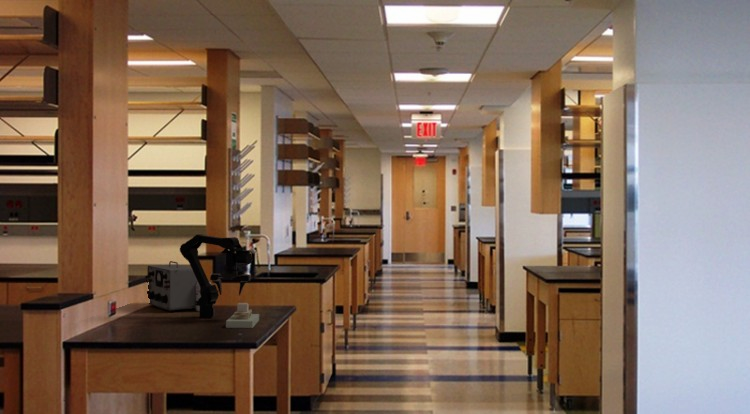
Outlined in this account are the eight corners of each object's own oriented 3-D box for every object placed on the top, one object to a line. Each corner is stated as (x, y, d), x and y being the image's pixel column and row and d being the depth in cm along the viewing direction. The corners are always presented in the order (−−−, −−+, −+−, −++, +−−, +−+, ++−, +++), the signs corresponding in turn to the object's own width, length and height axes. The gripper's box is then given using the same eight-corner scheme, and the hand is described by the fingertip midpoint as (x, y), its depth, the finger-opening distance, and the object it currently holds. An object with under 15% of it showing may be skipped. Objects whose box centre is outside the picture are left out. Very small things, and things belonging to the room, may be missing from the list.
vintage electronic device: (143, 306, 406) (143, 260, 406) (175, 303, 417) (175, 259, 417) (166, 313, 381) (166, 264, 380) (199, 310, 392) (199, 263, 391)
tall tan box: (234, 319, 345) (234, 312, 345) (237, 315, 356) (238, 309, 356) (248, 319, 345) (248, 312, 345) (251, 315, 356) (251, 309, 356)
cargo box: (237, 311, 348) (237, 304, 348) (238, 310, 353) (238, 303, 353) (247, 311, 348) (247, 304, 348) (248, 310, 353) (248, 303, 353)
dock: (225, 327, 339) (226, 321, 339) (234, 320, 361) (234, 313, 361) (252, 327, 340) (252, 321, 340) (259, 320, 362) (259, 314, 362)
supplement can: (214, 310, 393) (215, 281, 393) (205, 312, 386) (205, 283, 385) (202, 309, 396) (202, 281, 396) (192, 311, 389) (192, 282, 389)
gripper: (208, 264, 356) (207, 296, 356) (247, 265, 356) (246, 297, 356) (213, 262, 367) (212, 293, 367) (251, 263, 367) (250, 294, 367)
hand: (230, 295), depth 364 cm, fingers open, 9 cm apart
